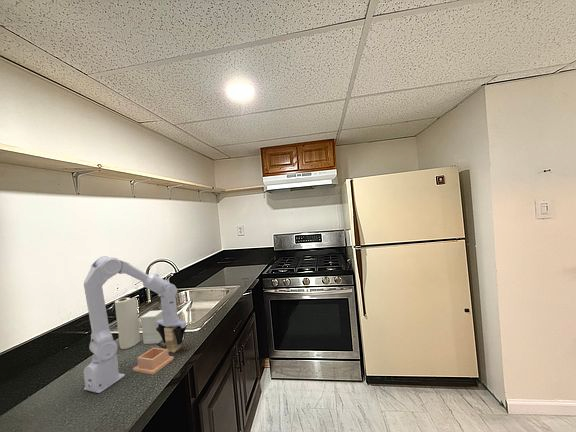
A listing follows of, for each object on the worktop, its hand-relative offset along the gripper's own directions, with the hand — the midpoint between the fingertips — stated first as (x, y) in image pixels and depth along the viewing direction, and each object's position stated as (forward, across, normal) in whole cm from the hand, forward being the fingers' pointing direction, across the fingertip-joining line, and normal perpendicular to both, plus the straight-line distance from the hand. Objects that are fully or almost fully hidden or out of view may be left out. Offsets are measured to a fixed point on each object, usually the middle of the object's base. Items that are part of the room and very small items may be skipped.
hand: (173, 342), depth 113 cm
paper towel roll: (+3, +24, +2) cm, 24 cm away
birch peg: (+3, 0, 0) cm, 3 cm away
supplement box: (+3, +16, -5) cm, 17 cm away
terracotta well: (+3, -1, +11) cm, 11 cm away
